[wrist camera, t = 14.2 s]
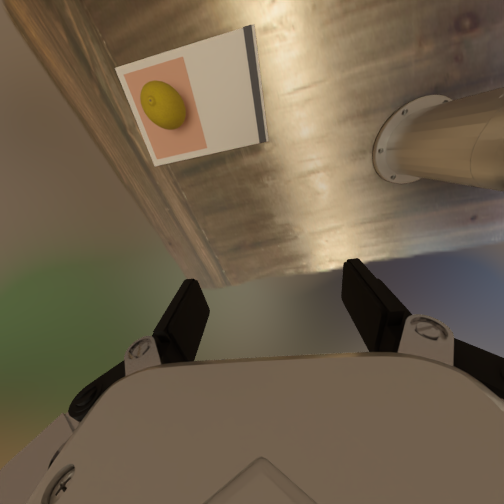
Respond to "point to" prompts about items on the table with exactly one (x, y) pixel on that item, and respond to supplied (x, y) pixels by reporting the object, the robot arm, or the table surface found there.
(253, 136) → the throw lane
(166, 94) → the lemon
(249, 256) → the table surface
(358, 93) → the table surface
